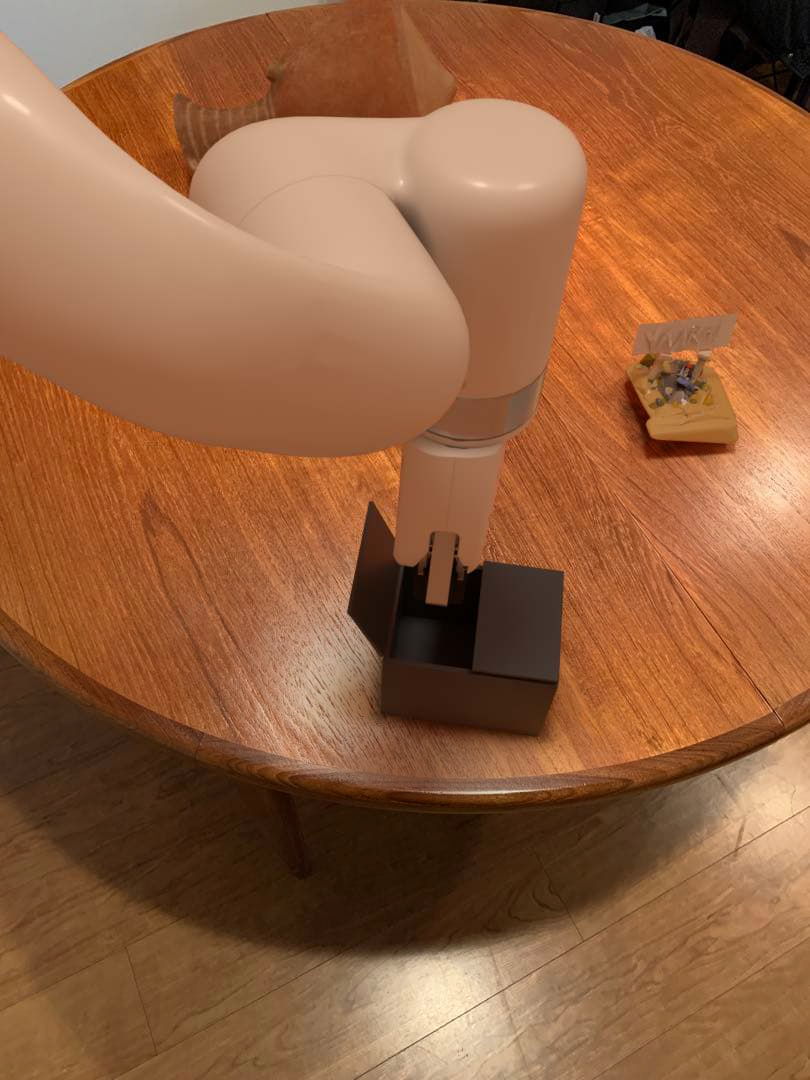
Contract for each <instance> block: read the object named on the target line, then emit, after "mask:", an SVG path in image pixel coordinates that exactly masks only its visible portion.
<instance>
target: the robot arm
mask: <svg viewBox="0 0 810 1080" xmlns="http://www.w3.org/2000/svg"><path fill="white" fill-rule="evenodd" d="M588 173H589V171H588V164H587V159H586V155H585V152H584V149H583V147H582V145H581V143H580V142H579V140H578V138H577V137H576V135H575V133H573V132H572V130H571V129H570V128H569V127H568V126H567V125H566V124H565V123H563V122H561V120H559V118H556V117H555V116H554V115H553V114H551V113H549V112H547V111H545V110H543V109H541V108H538V107H536V106H534V105H531V104H528V103H524V102H520V101H516V100H511V99H505V98H494V97H486V98H485V97H484V98H483V97H481V98H480V97H478V98H471V99H464V100H460V101H456V102H452V103H451V104H449V105H447V106H444V107H442V108H439V109H437V110H435V111H434V112H432V113H430V114H428V115H426V116H424V117H414V118H350V117H285V118H275V119H269V120H265V121H260V122H256V123H252V124H249V125H246V126H244V127H241V128H239V129H237V130H235V131H233V132H231V133H229V134H227V135H226V136H225V137H223V138H222V139H221V140H219V141H218V142H217V143H215V144H214V145H213V146H212V147H211V148H210V149H209V150H208V151H207V153H206V154H205V155H204V157H203V158H202V160H201V161H200V163H199V164H198V166H197V168H196V171H195V173H194V175H193V176H192V178H191V182H190V186H189V191H188V197H186V196H185V195H183V194H181V193H180V192H178V191H177V190H175V189H174V188H172V187H171V186H170V185H169V184H168V183H166V182H165V181H163V180H161V179H160V178H159V177H158V176H156V175H155V174H154V173H152V172H151V171H149V170H148V169H147V168H146V167H144V166H143V165H141V163H139V162H138V161H137V160H136V159H135V158H134V157H132V156H131V155H130V154H128V152H126V151H125V150H124V149H122V147H120V146H119V145H118V144H117V143H116V142H115V141H114V140H112V139H111V138H110V137H109V136H108V135H107V134H106V133H104V131H102V130H101V129H100V128H99V127H98V126H97V125H96V124H95V123H94V122H93V121H91V119H90V118H88V117H87V115H86V114H84V113H83V111H82V110H81V109H79V107H78V106H77V105H76V104H75V103H74V102H73V101H72V100H71V99H70V98H69V97H68V96H67V95H66V94H65V93H64V92H63V91H62V90H61V89H60V88H59V87H58V86H57V84H55V82H53V80H52V79H51V78H50V77H48V75H47V74H46V73H45V72H44V71H43V70H42V69H41V68H40V67H39V66H38V65H37V64H36V63H35V62H34V60H33V59H31V57H30V56H28V54H26V53H25V51H24V50H23V49H22V48H20V47H19V46H18V45H17V44H16V43H15V42H14V41H13V40H12V39H11V38H10V37H9V36H8V35H7V34H6V33H5V32H4V31H3V30H2V29H1V28H0V356H2V357H4V358H6V359H8V360H9V361H11V362H14V363H15V364H17V365H19V366H20V367H22V368H23V369H26V370H28V371H30V372H32V373H33V374H35V375H38V376H39V377H41V378H43V379H45V380H47V381H49V382H50V383H52V384H54V385H56V386H58V387H59V388H61V389H63V390H65V391H66V392H69V393H70V394H73V395H74V396H76V397H78V398H80V399H82V400H84V401H86V402H87V403H89V404H90V405H91V404H92V405H94V406H95V407H98V408H100V409H102V410H104V411H106V412H108V413H109V414H112V415H113V416H115V417H117V418H120V419H121V420H124V421H127V422H129V423H132V424H134V425H137V426H139V427H142V428H144V429H147V430H149V431H152V432H155V433H158V434H161V435H165V436H167V437H171V438H175V439H178V440H181V441H186V442H190V443H195V444H199V445H203V446H208V447H209V446H210V447H216V448H223V449H231V450H232V449H233V450H241V451H250V452H257V453H265V454H271V455H279V456H289V457H301V458H302V457H303V458H330V459H331V458H349V457H357V456H364V455H370V454H374V453H378V452H383V451H387V450H389V449H392V448H394V447H397V446H400V445H402V449H401V458H400V459H401V460H400V461H401V462H400V471H399V485H398V495H397V496H398V499H397V510H396V521H395V522H396V523H395V531H394V532H395V534H394V537H395V542H394V552H393V556H394V558H395V560H396V561H397V562H398V564H400V565H405V566H410V567H414V566H415V572H414V584H413V597H414V598H416V599H420V600H425V601H426V604H432V605H439V606H447V604H456V605H458V604H462V602H463V597H464V591H465V586H466V580H467V574H468V573H470V572H472V571H473V570H474V569H476V568H477V567H478V565H480V562H481V558H482V555H483V551H484V547H485V543H486V539H487V535H488V531H489V527H490V522H491V519H492V515H493V511H494V506H495V502H496V497H497V493H498V489H499V483H500V478H501V474H502V469H503V464H504V460H505V455H506V450H507V446H508V442H509V440H511V439H513V438H515V437H516V436H518V435H520V434H521V433H522V432H523V431H524V430H525V429H526V428H527V427H529V425H530V424H531V423H532V421H533V420H534V419H535V417H536V415H537V413H538V409H539V405H540V402H541V397H542V393H543V389H544V384H545V380H546V375H547V371H548V367H549V362H550V356H551V351H552V347H553V343H554V339H555V334H556V331H557V325H558V322H559V317H560V313H561V308H562V304H563V299H564V295H565V291H566V287H567V282H568V277H569V273H570V269H571V266H572V265H571V264H572V259H573V256H574V251H575V246H576V242H577V238H578V233H579V229H580V225H581V219H582V215H583V212H584V207H585V202H586V196H587V191H588V185H589V174H588ZM507 441H508V442H507ZM429 552H432V554H430V556H429ZM454 555H457V561H456V557H454Z"/></svg>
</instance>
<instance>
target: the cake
mask: <svg viewBox="0 0 810 1080" xmlns="http://www.w3.org/2000/svg"><path fill="white" fill-rule="evenodd" d="M739 314H740V312H732V313H728V314H721V315H708V316H701V317H690V318H685V319H679V320H670V321H662V322H653V323H638V326H637V330H636V335H635V339H634V343H633V347H632V352H631V356H632V357H635V356H640V355H644V356H643V357H642V358H641V359H639V360H637V361H634V362H632V363H630V364H629V365H628V366H627V367H626V368H625V369H624V374H626V375H627V376H628V379H629V380H630V382H631V384H632V388H633V389H634V391H635V393H636V395H637V397H638V400H639V401H640V403H641V405H639V406H638V407H641V406H642V407H643V409H644V410H645V412H646V413H647V416H648V417H649V418H648V419H647V420H646V422H645V427H646V430H647V432H648V435H649V437H650V438H651V439H653V440H657V441H674V442H693V443H707V444H708V443H711V444H728V445H731V444H736V443H737V442H738V441H739V438H740V437H739V429H738V428H739V427H738V422H737V417H736V413H735V410H734V408H733V405H732V403H731V401H730V399H729V396H728V394H727V392H726V389H725V387H724V384H723V382H722V380H721V377H720V376H719V374H718V373H717V372H716V370H714V369H713V368H712V367H711V366H709V365H707V364H706V362H709V363H710V362H712V361H711V356H712V355H713V353H714V350H712V349H718V348H726V347H729V345H730V343H731V339H732V336H733V333H734V329H735V326H736V324H737V320H738V317H739ZM687 351H697V353H696V358H697V360H695V361H694V360H689V359H685V358H674V356H673V354H672V353H682V352H687ZM508 442H509V440H508V441H507V443H508Z"/></svg>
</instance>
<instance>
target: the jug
mask: <svg viewBox="0 0 810 1080" xmlns="http://www.w3.org/2000/svg"><path fill="white" fill-rule="evenodd" d="M278 61H279V62H278V63H274V62H272V61H270V62H268V64H267V65H266V66H265V69H264V74H263V75H264V77H265V79H266V80H268V81H269V82H270V85H269V88H268V90H267V92H266V93H265V95H263V97H262V98H260V99H258V100H257V101H255V102H251V103H248V104H246V105H243V106H242V105H241V106H238V107H233V108H220V109H217V108H212V107H211V108H209V107H207V108H206V107H203V106H201V105H200V104H197V103H195V102H194V101H193V100H192V99H191V98H189V97H188V96H186V95H185V94H183V93H181V92H180V93H179V92H177V93H175V94H174V95H173V100H172V101H173V105H172V112H173V123H174V129H175V133H176V137H177V139H178V141H179V144H180V147H181V150H182V153H183V157H184V159H185V161H186V165H187V170H188V171H189V173H190V175H191V176H192V177H193V175H194V173H195V171H196V168H197V166H198V164H199V163H200V161H201V160H202V158H203V157H204V155H205V154H206V153H207V151H208V150H209V149H210V148H211V147H212V146H213V145H214V144H215V143H217V142H218V141H219V140H221V139H222V138H223V137H225V136H226V135H227V134H229V133H231V132H233V131H235V130H237V129H239V128H241V127H244V126H246V125H249V124H252V123H256V122H260V121H265V120H269V119H275V118H285V117H350V118H414V117H424V116H426V115H428V114H430V113H432V112H434V111H435V110H437V109H439V108H442V107H444V106H447V105H449V104H452V103H453V100H454V99H455V96H456V94H457V92H458V85H457V82H456V78H455V77H454V75H453V74H452V73H451V72H450V71H449V70H447V68H446V67H445V66H444V65H443V64H442V63H441V62H440V60H439V59H438V57H437V56H436V55H435V53H433V51H432V50H431V48H430V46H429V45H428V44H427V42H426V40H425V39H424V37H423V36H422V35H421V33H420V31H419V30H418V29H417V26H416V25H415V23H414V22H413V20H412V18H411V17H410V15H409V14H408V12H407V10H406V8H405V6H404V5H403V4H402V3H401V1H400V0H345V1H342V2H340V3H338V4H337V5H335V6H334V7H333V8H330V9H329V10H328V11H326V12H324V13H323V14H322V15H320V16H319V17H317V18H316V19H315V20H314V21H312V22H311V23H309V25H308V26H306V28H304V30H302V31H301V32H300V34H298V35H297V36H296V37H295V38H294V40H293V41H292V42H291V44H289V46H288V47H287V49H286V50H285V52H284V53H283V55H282V57H281V58H280V60H278Z"/></svg>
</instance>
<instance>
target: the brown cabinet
mask: <svg viewBox="0 0 810 1080" xmlns="http://www.w3.org/2000/svg"><path fill="white" fill-rule="evenodd" d="M414 572H415V566H414V567H410V566H405V565H400V564H399V570H398V576H397V582H396V588H395V594H394V600H393V606H392V612H391V618H390V624H389V630H388V635H387V641H386V647H385V653H384V657H382V661H381V662H382V663H381V686H380V687H381V688H380V689H381V692H380V714H381V715H385V716H393V717H400V718H407V719H412V720H413V719H414V720H422V721H428V722H434V723H435V722H436V723H442V724H448V725H449V724H450V725H456V726H463V727H471V728H477V729H483V730H492V731H497V732H504V733H505V732H506V733H512V734H519V735H520V734H521V735H525V736H526V735H527V736H532V737H540V735H541V732H542V729H543V727H544V725H545V722H546V719H547V716H548V714H549V711H550V709H551V706H552V704H553V701H554V699H555V695H556V693H557V691H558V689H559V682H560V670H561V651H562V650H561V647H562V626H563V603H564V581H565V571H564V570H558V569H551V568H543V567H536V566H529V565H528V566H527V565H520V564H513V563H506V562H499V561H491V560H483V563H482V564H479V565H478V567H477V568H476V569H474V570H473V571H472V572H470V573H468V574H467V580H466V586H465V591H464V597H463V602H462V604H458V605H456V604H447V606H439V605H432V604H426V601H425V600H420V599H416V598H414V597H413V584H414Z"/></svg>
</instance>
